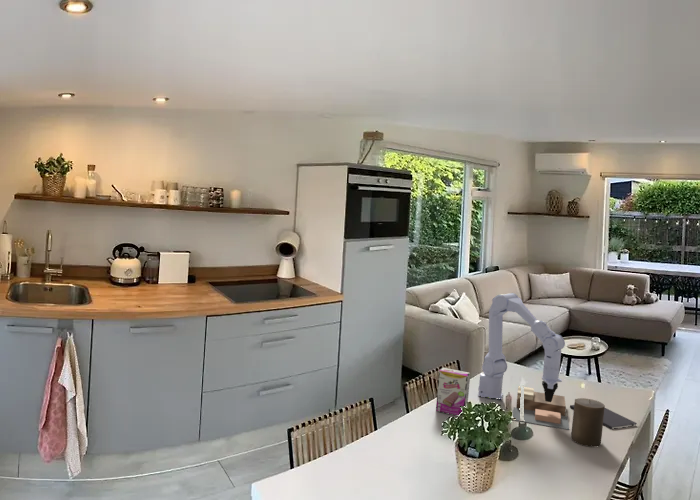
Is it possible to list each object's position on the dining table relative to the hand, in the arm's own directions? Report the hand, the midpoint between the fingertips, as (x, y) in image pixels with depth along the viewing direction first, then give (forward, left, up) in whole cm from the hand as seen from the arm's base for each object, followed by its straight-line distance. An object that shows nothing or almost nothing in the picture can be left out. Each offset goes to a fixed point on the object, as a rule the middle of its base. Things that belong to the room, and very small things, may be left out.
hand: (548, 401), depth 209 cm
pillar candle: (+13, -17, -6) cm, 22 cm away
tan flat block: (-2, +9, -6) cm, 11 cm away
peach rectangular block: (0, -3, -4) cm, 5 cm away
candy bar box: (-34, -14, -6) cm, 38 cm away
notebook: (+21, +10, -7) cm, 24 cm away
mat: (-2, -4, -6) cm, 7 cm away
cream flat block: (-8, +8, -2) cm, 12 cm away
